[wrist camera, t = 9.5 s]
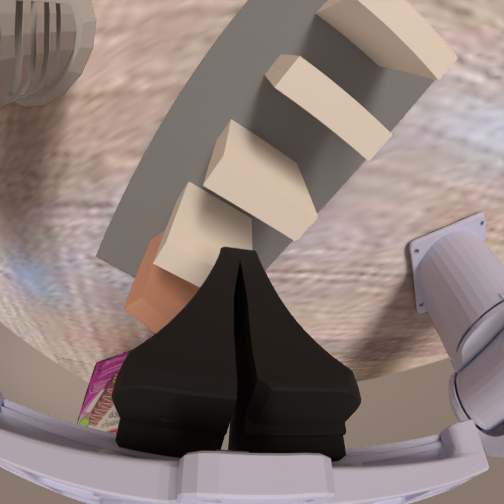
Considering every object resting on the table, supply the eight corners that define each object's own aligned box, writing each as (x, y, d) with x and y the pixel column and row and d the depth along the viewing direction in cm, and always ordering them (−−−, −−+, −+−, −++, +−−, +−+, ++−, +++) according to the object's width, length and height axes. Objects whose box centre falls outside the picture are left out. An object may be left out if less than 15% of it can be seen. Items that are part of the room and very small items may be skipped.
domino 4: (331, -4, 13) (374, -28, 8) (393, 49, 15) (457, 57, 9) (315, 13, 14) (352, -4, 8) (378, 66, 16) (438, 80, 10)
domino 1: (165, 229, 23) (141, 297, 17) (208, 274, 25) (199, 345, 19) (150, 240, 23) (123, 308, 17) (193, 282, 26) (181, 353, 20)
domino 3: (231, 118, 18) (223, 155, 12) (296, 162, 20) (318, 217, 14) (216, 139, 19) (202, 185, 13) (281, 181, 21) (296, 241, 15)
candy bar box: (157, 336, 30) (128, 495, 17) (188, 361, 33) (173, 508, 20) (92, 360, 33) (59, 484, 20) (121, 381, 36) (97, 499, 23)
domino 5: (280, 54, 16) (300, 56, 10) (346, 104, 17) (392, 134, 12) (264, 74, 16) (274, 87, 11) (330, 122, 18) (368, 161, 13)
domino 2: (188, 181, 20) (166, 241, 15) (251, 218, 22) (253, 287, 16) (177, 199, 21) (152, 263, 16) (238, 234, 23) (236, 305, 17)
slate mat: (311, -66, 11) (313, -68, 11) (450, 56, 15) (453, 57, 15) (97, 253, 24) (95, 256, 24) (220, 314, 28) (220, 318, 28)
